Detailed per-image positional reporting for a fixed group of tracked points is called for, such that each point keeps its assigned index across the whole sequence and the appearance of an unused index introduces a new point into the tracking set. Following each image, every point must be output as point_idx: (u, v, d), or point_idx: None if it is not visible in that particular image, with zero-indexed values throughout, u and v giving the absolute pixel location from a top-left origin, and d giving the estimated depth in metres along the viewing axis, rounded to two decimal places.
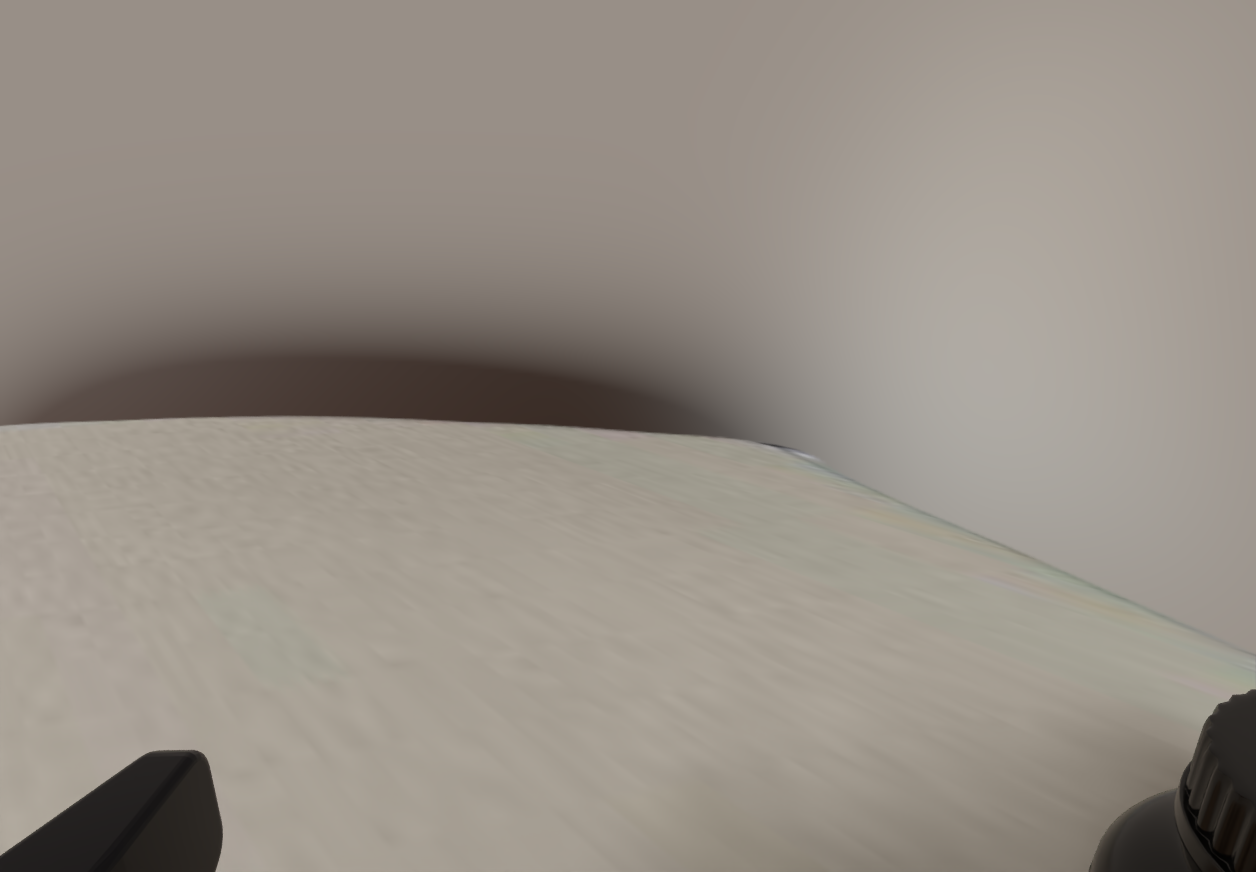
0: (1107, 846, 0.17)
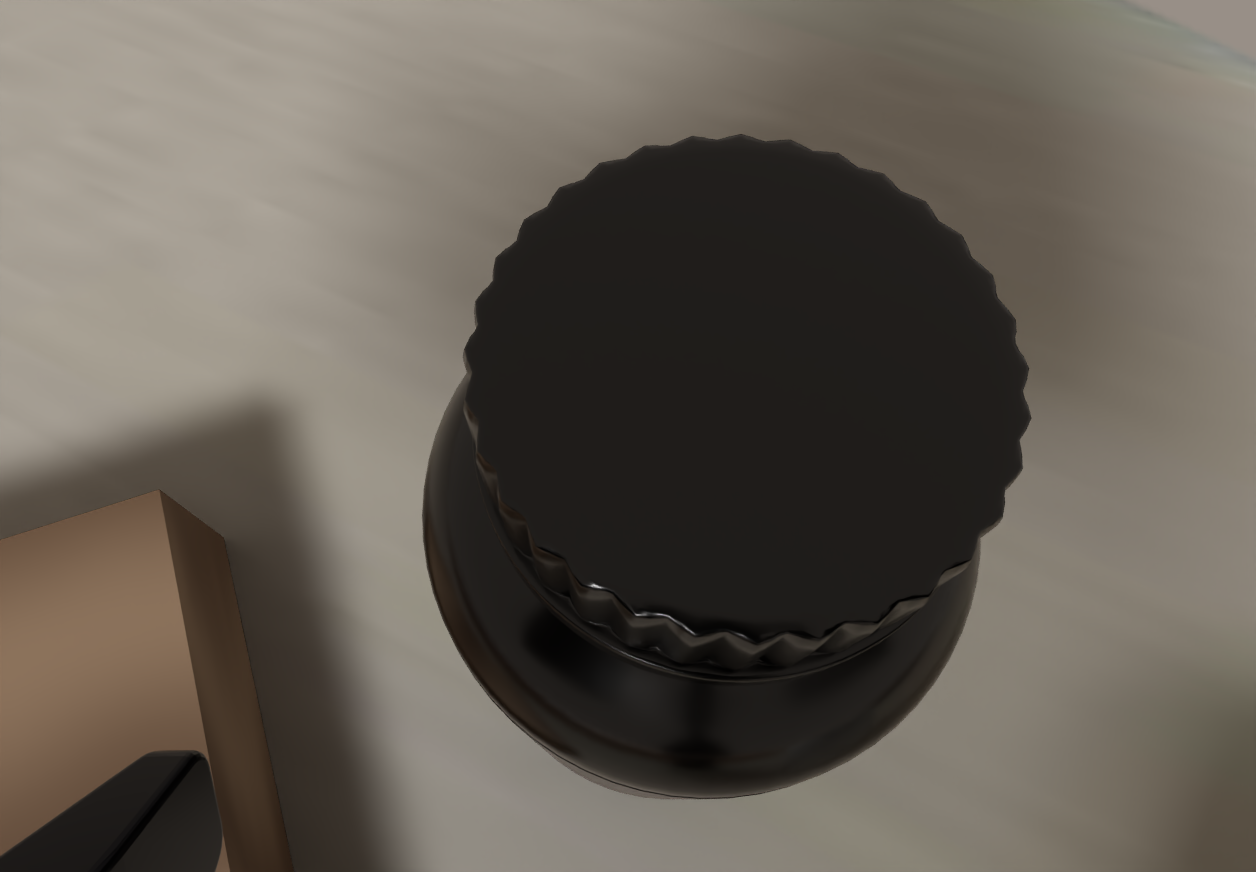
0: (444, 420, 0.11)
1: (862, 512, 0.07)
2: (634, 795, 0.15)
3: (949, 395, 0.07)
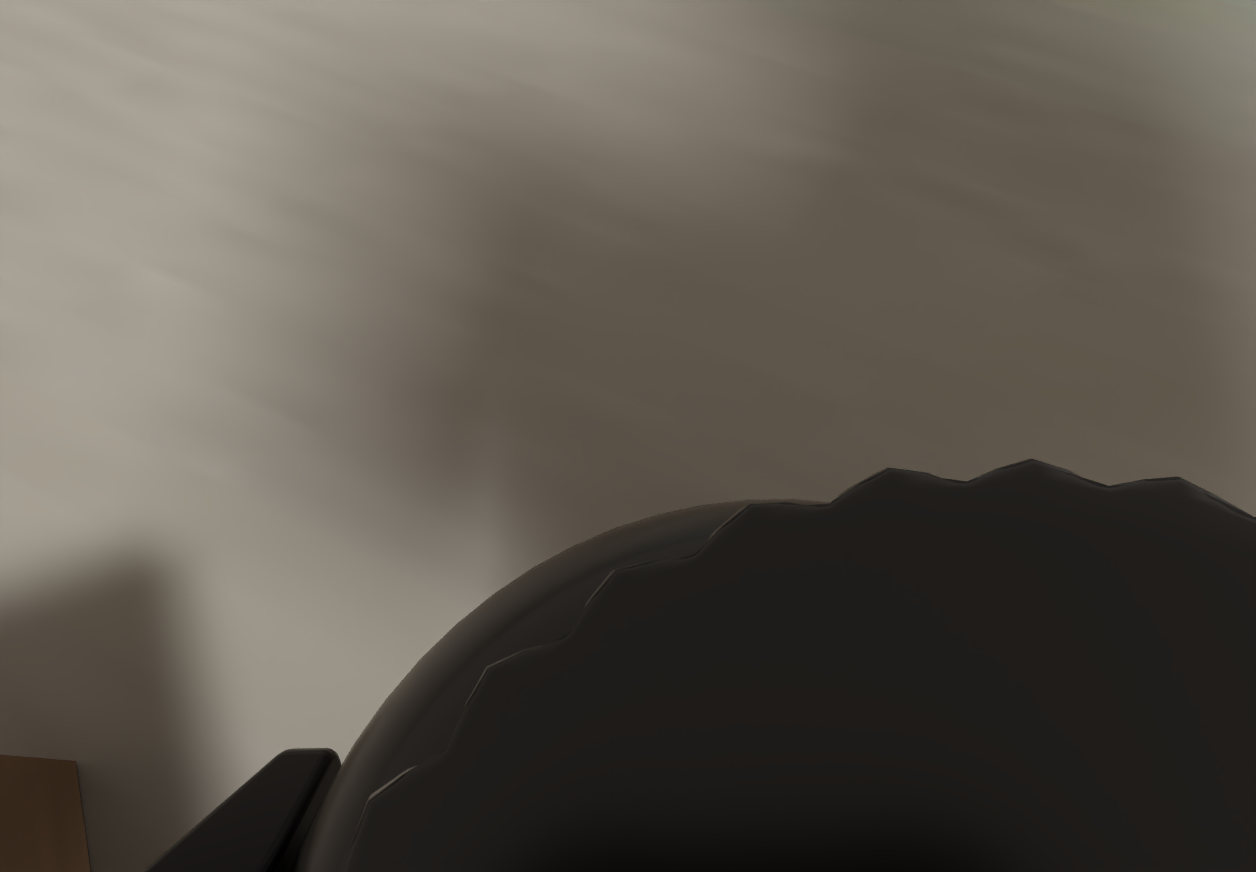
0: None
1: None
2: None
3: None
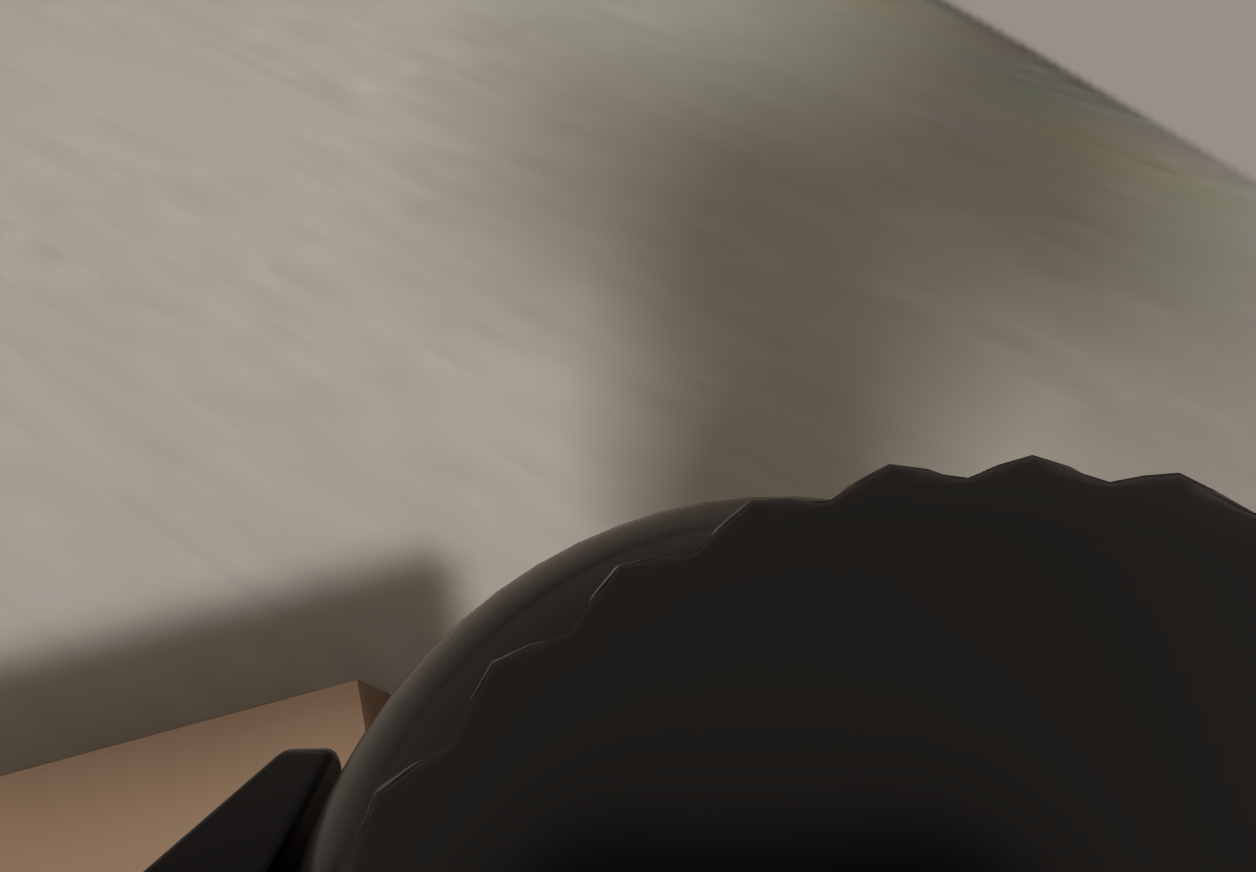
0: None
1: None
2: None
3: None
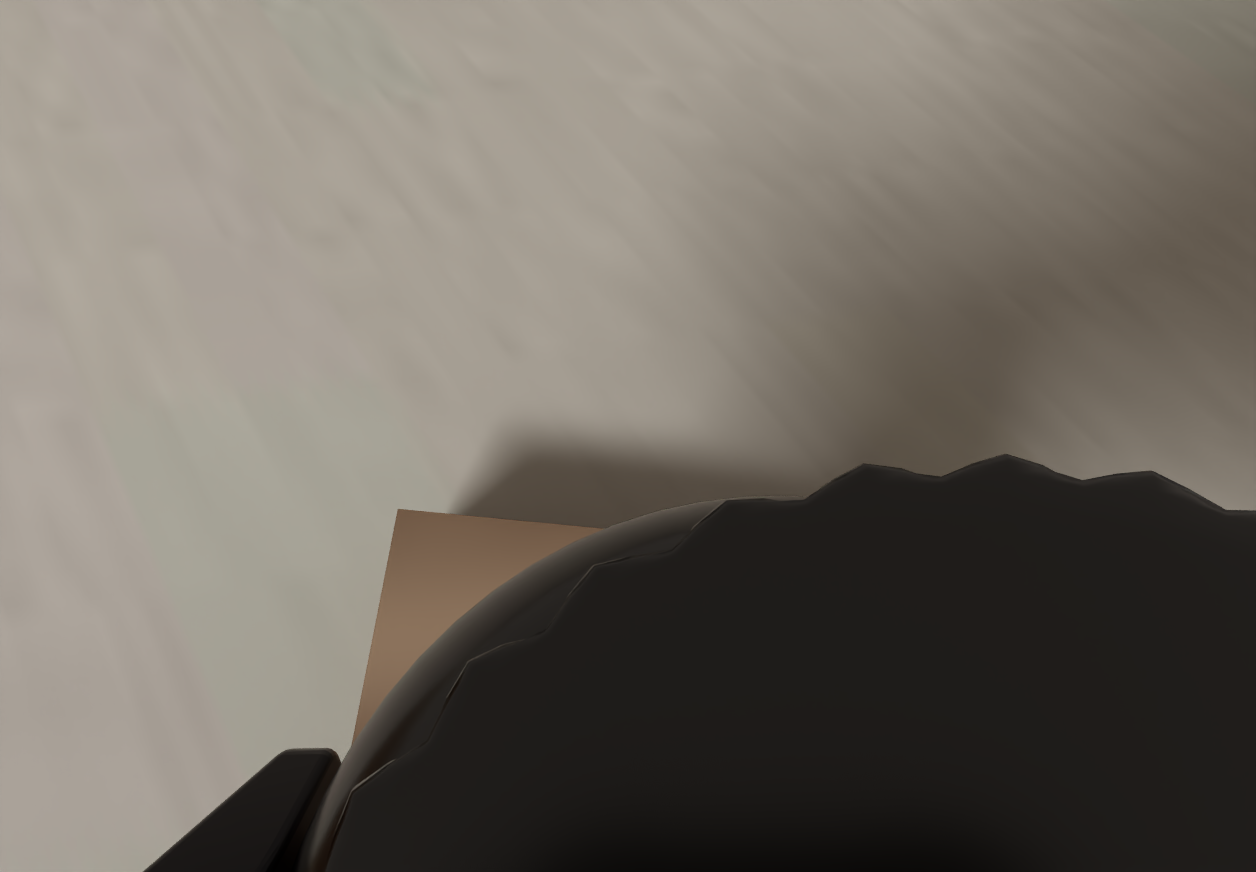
0: None
1: None
2: None
3: None
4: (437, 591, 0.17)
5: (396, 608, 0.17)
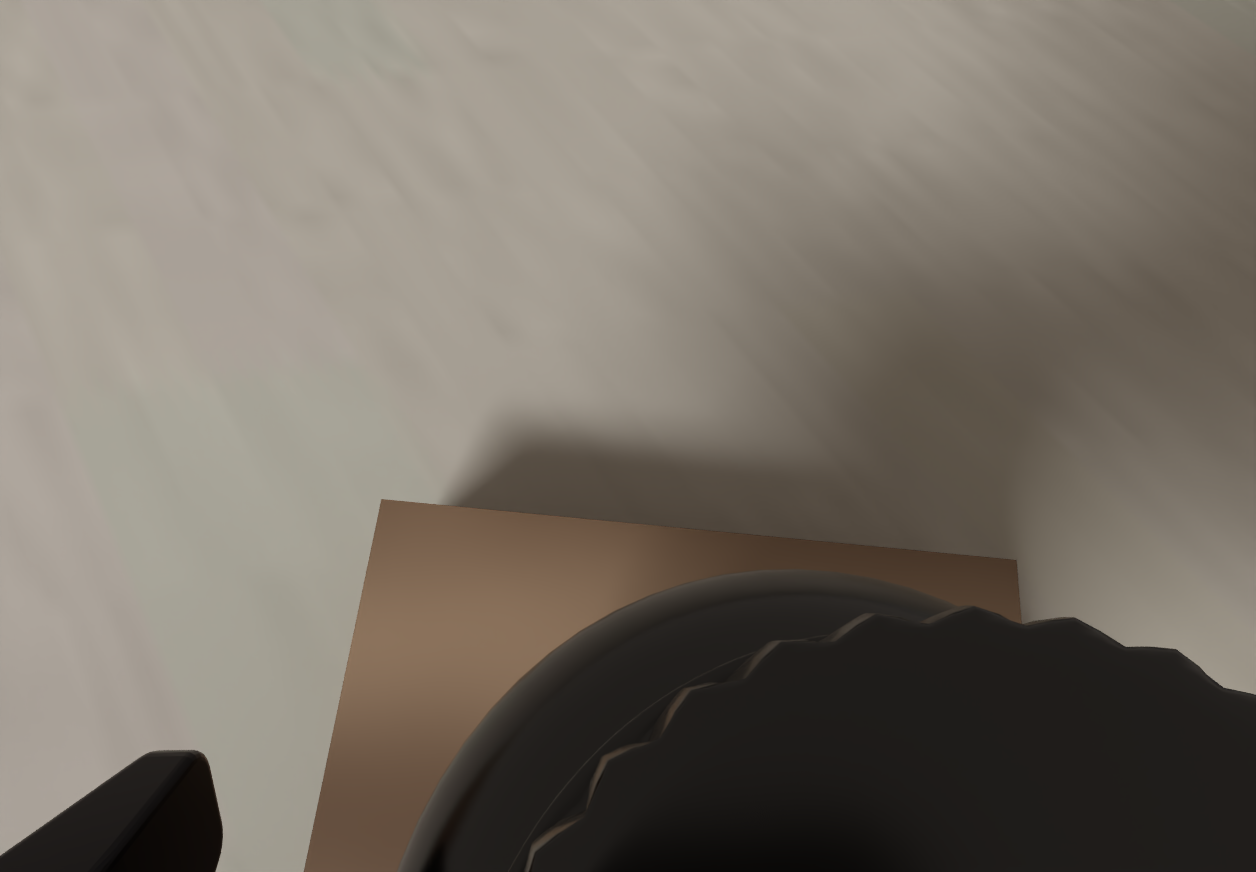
0: None
1: None
2: None
3: None
4: (424, 589, 0.16)
5: (378, 607, 0.16)
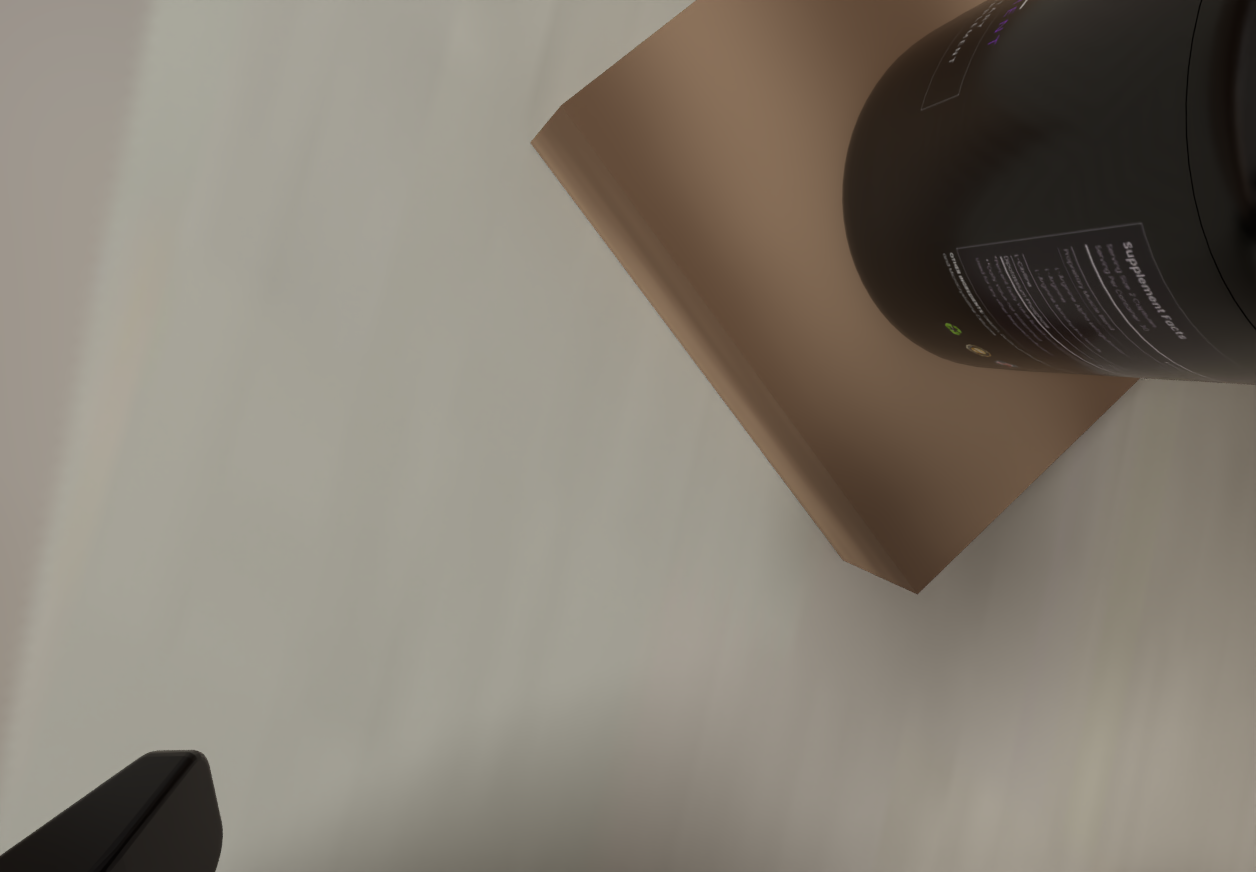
0: None
1: None
2: (905, 288, 0.16)
3: None
4: None
5: None
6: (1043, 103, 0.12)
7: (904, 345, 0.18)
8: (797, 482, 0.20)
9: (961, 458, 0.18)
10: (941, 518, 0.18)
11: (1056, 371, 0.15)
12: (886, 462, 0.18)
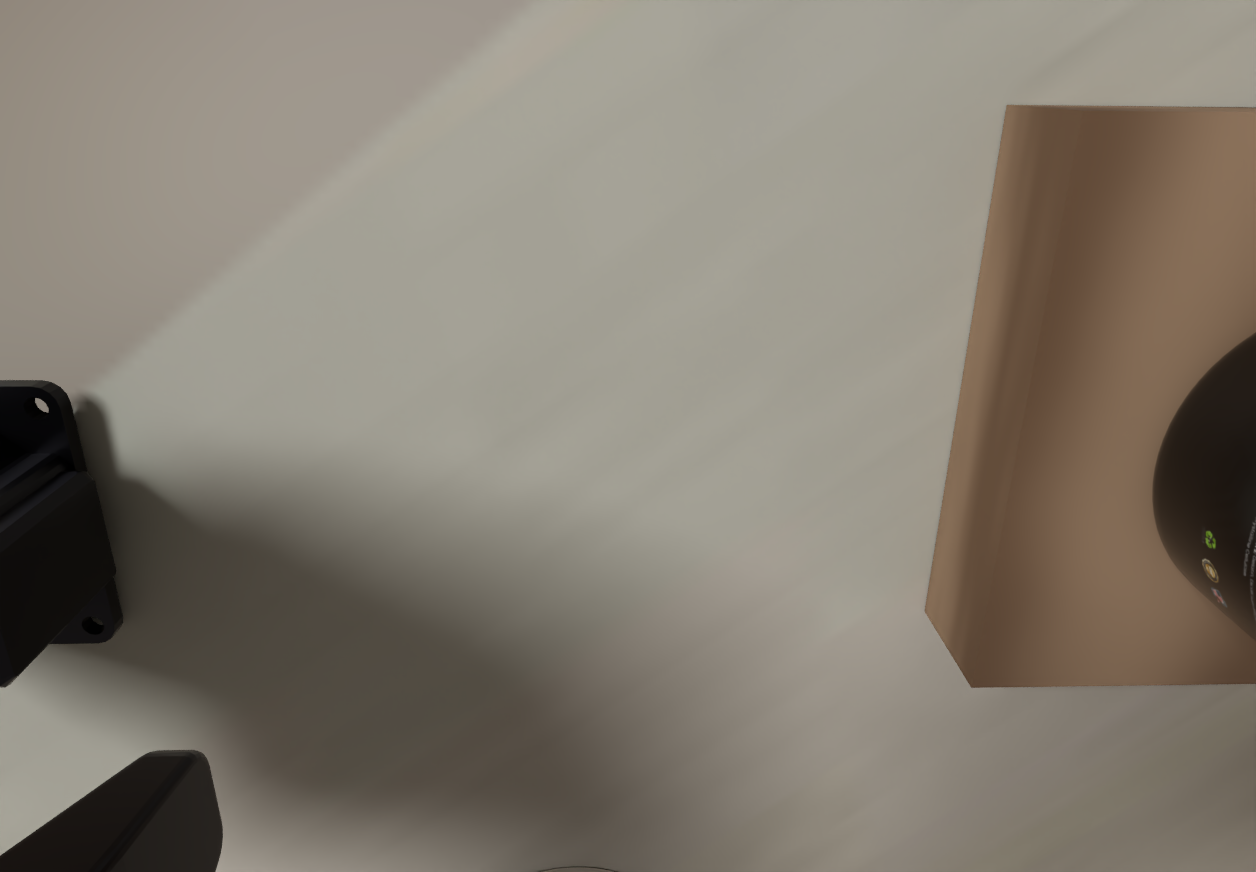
0: None
1: None
2: (1202, 478, 0.16)
3: None
4: None
5: None
6: None
7: (1143, 511, 0.18)
8: (953, 532, 0.20)
9: (1098, 624, 0.19)
10: (1041, 652, 0.19)
11: None
12: (1044, 581, 0.19)
